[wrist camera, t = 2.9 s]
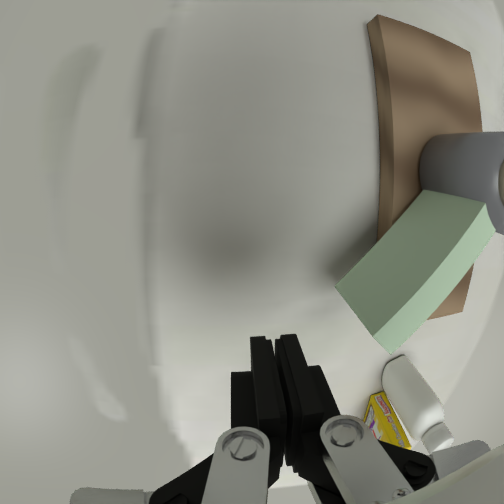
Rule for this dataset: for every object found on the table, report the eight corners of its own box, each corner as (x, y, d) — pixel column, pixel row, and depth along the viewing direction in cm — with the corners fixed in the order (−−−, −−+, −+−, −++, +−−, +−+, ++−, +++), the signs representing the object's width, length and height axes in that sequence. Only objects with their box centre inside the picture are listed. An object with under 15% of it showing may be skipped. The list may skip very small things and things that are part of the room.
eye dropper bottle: (421, 352, 23) (483, 429, 12) (399, 392, 25) (446, 469, 13) (389, 353, 23) (452, 444, 11) (368, 395, 24) (412, 483, 13)
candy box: (366, 394, 24) (396, 452, 16) (384, 389, 24) (416, 444, 17) (345, 463, 29) (359, 507, 21) (359, 459, 29) (374, 502, 21)
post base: (366, 24, 14) (378, 13, 12) (456, 56, 15) (471, 51, 13) (366, 317, 21) (377, 330, 19) (450, 302, 22) (463, 312, 20)
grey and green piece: (446, 118, 15) (516, 112, 8) (480, 180, 16) (544, 193, 9) (313, 265, 17) (356, 323, 10) (365, 317, 19) (411, 378, 12)
